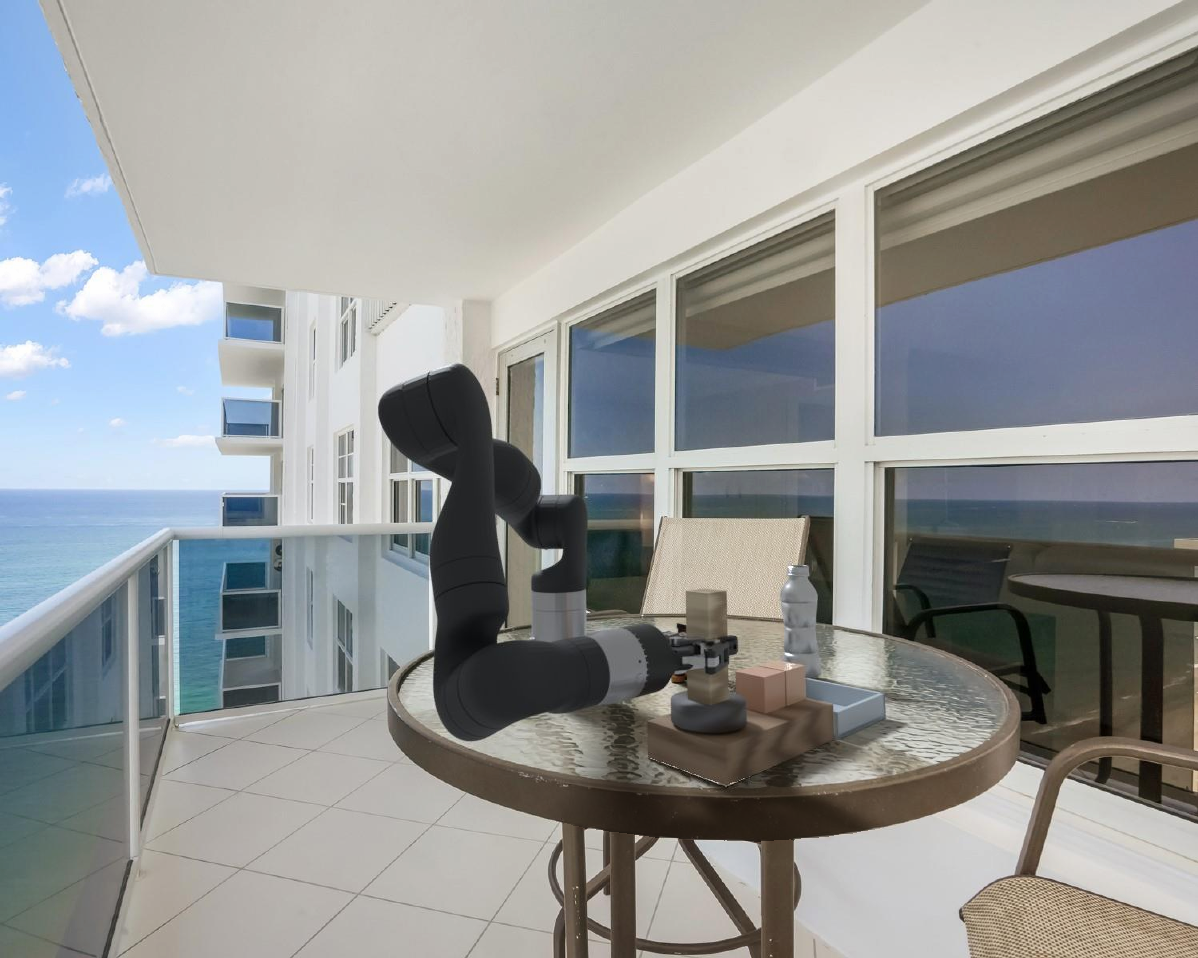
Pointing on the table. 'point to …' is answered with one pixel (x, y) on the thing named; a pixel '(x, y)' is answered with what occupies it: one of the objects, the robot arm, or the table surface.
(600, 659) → the robot arm
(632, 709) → the table surface
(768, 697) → the pinkish tan cube
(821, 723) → the wooden rectangular block
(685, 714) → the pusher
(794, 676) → the beige cube
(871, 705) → the tray
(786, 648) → the plastic bottle
